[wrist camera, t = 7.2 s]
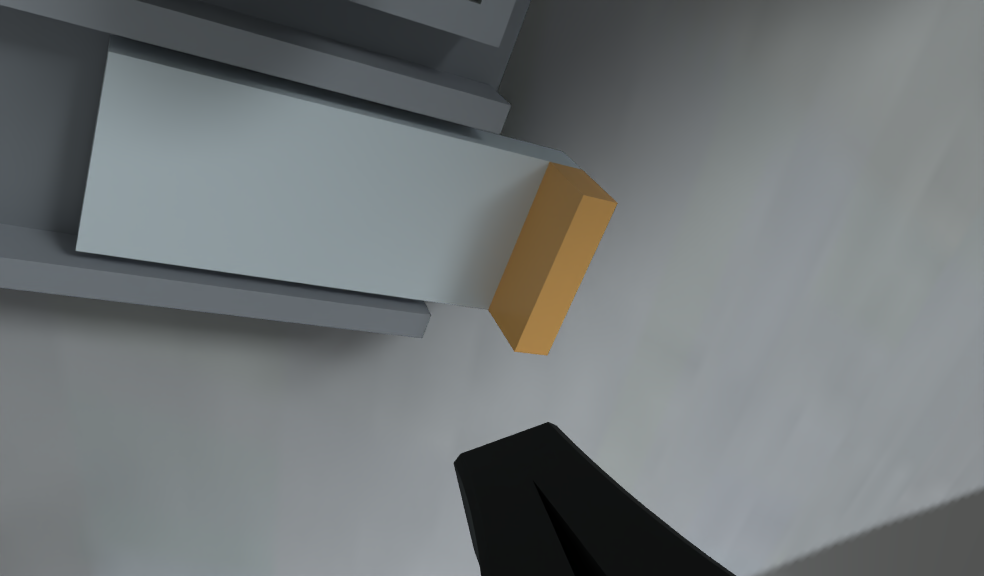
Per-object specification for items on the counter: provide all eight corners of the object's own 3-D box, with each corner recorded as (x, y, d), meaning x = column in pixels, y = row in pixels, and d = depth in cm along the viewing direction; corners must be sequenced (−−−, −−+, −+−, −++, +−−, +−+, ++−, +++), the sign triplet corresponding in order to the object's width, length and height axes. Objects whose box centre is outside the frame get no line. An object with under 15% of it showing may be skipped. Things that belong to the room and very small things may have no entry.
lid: (562, 151, 18) (617, 203, 16) (503, 291, 19) (547, 355, 17) (110, 34, 14) (106, 83, 12) (78, 224, 15) (69, 299, 13)
